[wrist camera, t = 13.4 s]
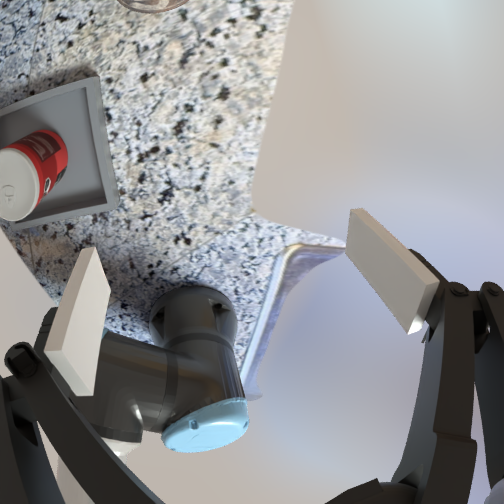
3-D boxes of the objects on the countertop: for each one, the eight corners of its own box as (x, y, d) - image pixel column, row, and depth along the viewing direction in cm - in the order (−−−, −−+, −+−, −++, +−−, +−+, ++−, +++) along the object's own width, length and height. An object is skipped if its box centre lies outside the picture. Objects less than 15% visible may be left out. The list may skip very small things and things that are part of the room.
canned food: (31, 191, 35) (-5, 228, 25) (16, 138, 30) (-27, 162, 21) (76, 177, 36) (47, 213, 26) (62, 120, 31) (25, 139, 22)
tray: (120, 200, 39) (116, 209, 37) (20, 222, 37) (12, 231, 34) (99, 76, 30) (93, 76, 28) (-8, 113, 27) (-19, 117, 25)
